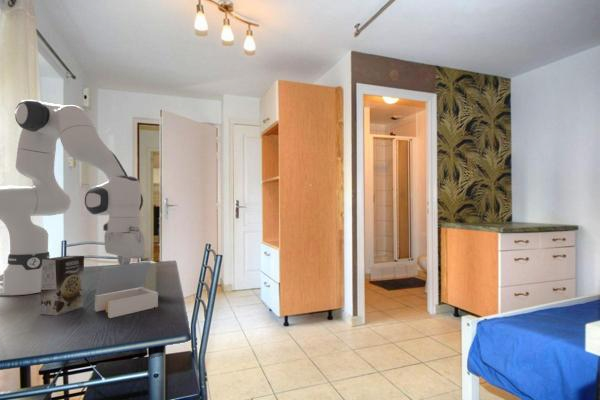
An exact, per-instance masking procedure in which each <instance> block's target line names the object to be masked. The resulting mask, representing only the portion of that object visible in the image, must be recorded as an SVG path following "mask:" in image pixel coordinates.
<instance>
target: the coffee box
mask: <svg viewBox="0 0 600 400" xmlns="http://www.w3.org/2000/svg"><path fill="white" fill-rule="evenodd" d="M84 269H85V255H63V256H58V257H49V258H48V259H42V275H41V292H40V306H39V314H40V315H48V316H60V315H63V314H65V313H68V312H71V311H75V310H77V309H82V308H83V307H84V304H83V303H84V278H85V277H84V275H85V274H84V273H85V272H84V271H85V270H84Z"/></svg>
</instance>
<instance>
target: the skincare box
mask: <svg viewBox="0 0 600 400" xmlns="http://www.w3.org/2000/svg"><path fill="white" fill-rule="evenodd" d="M147 261H148V260H144V261H143V260H141V261H139V262H147ZM149 261H150V262H151V263H150V266H149V269H148V272H147V275H146V278H145V281H144V283H143V286H142V288H145V289H149V290H152V291H155V292H157V291H156V290H157V273H158V272H157V267H158V262H156V261H154V260H149Z"/></svg>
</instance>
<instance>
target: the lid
mask: <svg viewBox="0 0 600 400" xmlns="http://www.w3.org/2000/svg"><path fill="white" fill-rule="evenodd" d="M146 261H147V262H140V261H139V262H132V263H131V262H130V263H129V264H123V265H119V264H115V265H109V266H108V265H107V266H102V270H101V273H100V277H99V279H98V283H97V285H96V286H97V287H96V290H95V293H94V294H95V296H97V295H102V294H107V293H113V292H118V291H124V290H129V289H135V288H140V287H142V286H143V283H144V281H145V278H146V275H147V272H148V269H149V266H150V263H151V262H150V261H151V260H146Z"/></svg>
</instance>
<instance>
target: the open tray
mask: <svg viewBox="0 0 600 400" xmlns="http://www.w3.org/2000/svg"><path fill="white" fill-rule="evenodd" d="M107 302H108V312H107V318H108V319H112V318H116V317H120V316H125V315H128V314H133V313H137V312H141V311H145V310H149V309H154V307H155V308H158V307H159V305H158V304H159V292H158V291H156V292H155V291H152V290H149V289H145V288H142V287H140V288H135V289H129V290H124V291H118V292H113V293H107V294H102V295H97V296H96V295H94V311H95V312H96V313H97V312H102V311H106V303H107Z"/></svg>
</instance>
